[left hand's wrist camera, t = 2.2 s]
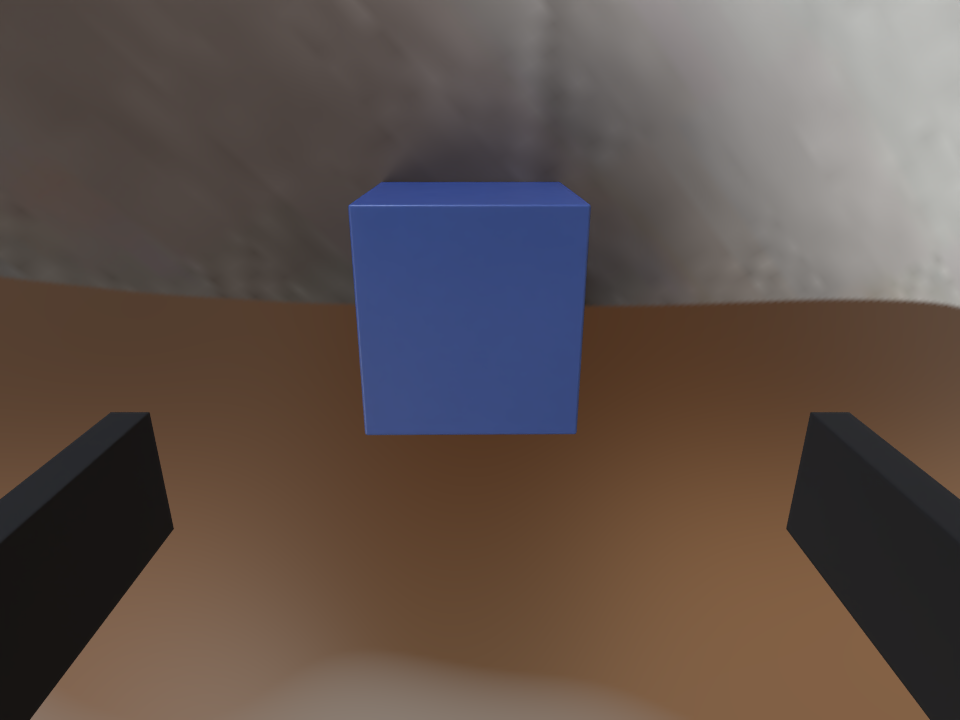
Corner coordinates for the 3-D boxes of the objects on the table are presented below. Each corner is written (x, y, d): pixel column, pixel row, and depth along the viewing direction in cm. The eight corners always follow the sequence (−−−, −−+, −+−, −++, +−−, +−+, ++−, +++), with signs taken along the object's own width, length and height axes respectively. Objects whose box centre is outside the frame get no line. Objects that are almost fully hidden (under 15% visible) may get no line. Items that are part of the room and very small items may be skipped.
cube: (560, 181, 26) (591, 204, 19) (552, 360, 29) (576, 435, 22) (380, 181, 26) (347, 204, 19) (390, 361, 29) (364, 435, 22)
